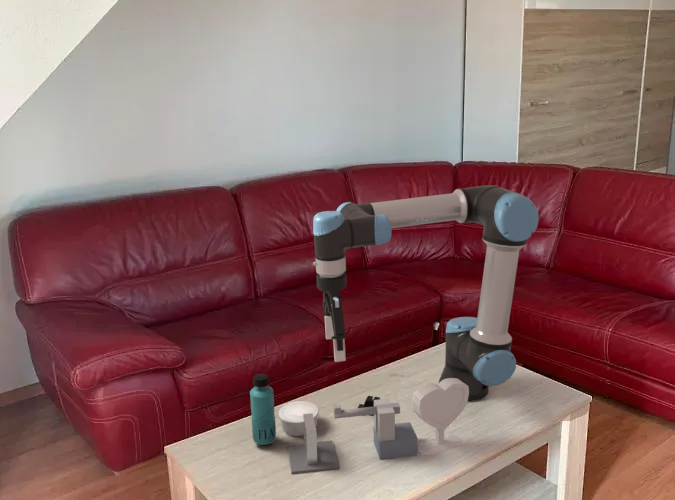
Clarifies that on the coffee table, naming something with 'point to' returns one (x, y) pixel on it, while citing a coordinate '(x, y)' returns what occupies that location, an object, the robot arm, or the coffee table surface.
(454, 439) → the heart sculpture
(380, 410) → the vise
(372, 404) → the black phone stand
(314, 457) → the ring
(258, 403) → the beverage bottle
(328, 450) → the mat
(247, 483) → the coffee table surface
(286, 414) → the ramekin
